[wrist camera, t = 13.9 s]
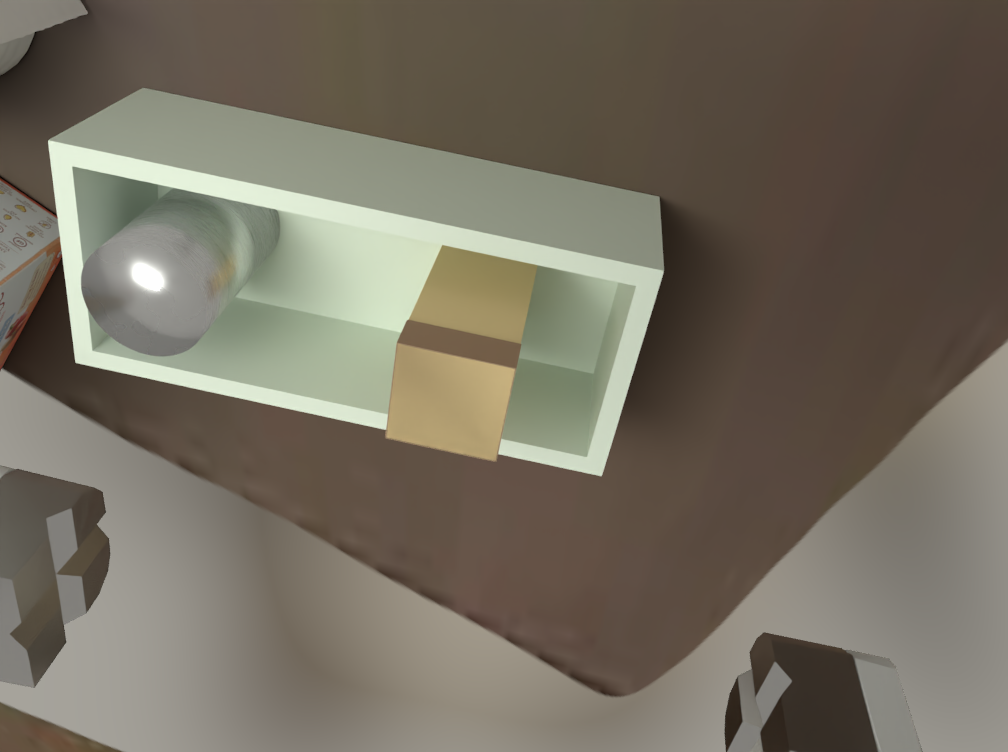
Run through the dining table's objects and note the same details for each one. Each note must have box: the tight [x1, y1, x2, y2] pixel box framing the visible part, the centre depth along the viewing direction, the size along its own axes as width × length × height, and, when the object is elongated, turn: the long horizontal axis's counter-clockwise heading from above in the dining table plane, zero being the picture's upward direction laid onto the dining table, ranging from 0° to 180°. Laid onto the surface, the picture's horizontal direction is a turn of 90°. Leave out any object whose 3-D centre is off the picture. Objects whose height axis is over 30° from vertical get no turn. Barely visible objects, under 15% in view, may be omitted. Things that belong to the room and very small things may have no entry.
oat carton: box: [385, 245, 538, 462], centre depth 43 cm, size 5×5×13 cm
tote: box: [48, 88, 664, 476], centre depth 46 cm, size 12×28×9 cm, turn 80°
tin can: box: [81, 188, 280, 356], centre depth 45 cm, size 6×6×10 cm
